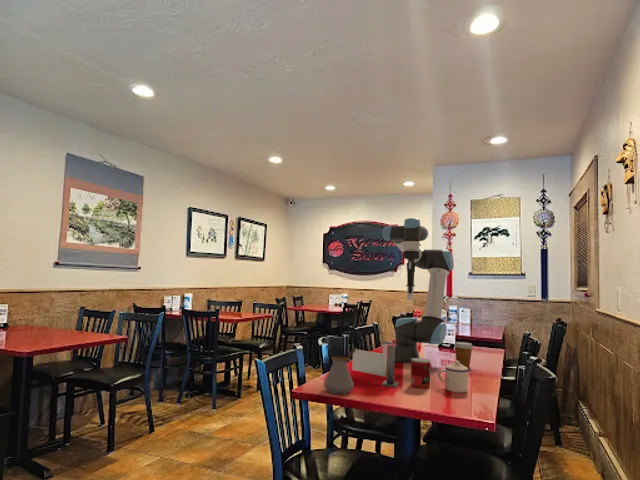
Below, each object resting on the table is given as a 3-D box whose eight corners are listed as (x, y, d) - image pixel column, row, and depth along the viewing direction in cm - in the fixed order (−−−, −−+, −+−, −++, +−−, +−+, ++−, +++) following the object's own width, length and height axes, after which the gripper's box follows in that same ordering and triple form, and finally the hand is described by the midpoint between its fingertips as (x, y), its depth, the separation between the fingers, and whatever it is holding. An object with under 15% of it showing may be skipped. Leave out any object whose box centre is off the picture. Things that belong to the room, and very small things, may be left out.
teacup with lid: (470, 389, 182) (470, 360, 183) (466, 394, 174) (466, 364, 175) (440, 385, 188) (441, 357, 189) (435, 389, 180) (436, 360, 181)
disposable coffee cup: (449, 365, 234) (450, 342, 235) (463, 364, 238) (463, 341, 239) (462, 368, 226) (462, 344, 227) (476, 367, 230) (477, 344, 231)
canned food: (425, 389, 179) (426, 362, 179) (407, 386, 183) (408, 359, 184) (433, 386, 185) (433, 359, 186) (415, 383, 189) (415, 357, 190)
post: (384, 382, 188) (385, 344, 190) (398, 384, 187) (399, 345, 188) (382, 385, 183) (383, 346, 184) (396, 387, 181) (397, 347, 182)
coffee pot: (345, 397, 162) (347, 356, 163) (318, 392, 167) (320, 352, 169) (367, 386, 181) (369, 349, 182) (342, 382, 186) (343, 345, 187)
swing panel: (392, 377, 185) (393, 342, 186) (390, 378, 184) (391, 342, 185) (354, 369, 198) (355, 336, 199) (351, 369, 197) (353, 337, 198)
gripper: (418, 249, 205) (417, 301, 203) (420, 251, 217) (419, 300, 215) (401, 249, 207) (400, 300, 205) (404, 251, 219) (403, 299, 217)
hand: (410, 300), depth 210 cm, fingers closed
